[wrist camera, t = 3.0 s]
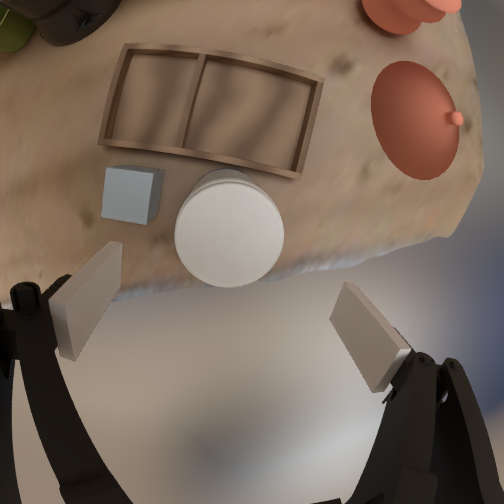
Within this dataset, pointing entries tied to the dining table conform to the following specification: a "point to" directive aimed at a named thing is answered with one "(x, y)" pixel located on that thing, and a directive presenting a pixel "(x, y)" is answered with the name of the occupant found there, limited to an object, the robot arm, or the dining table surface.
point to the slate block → (132, 193)
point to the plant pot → (14, 30)
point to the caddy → (212, 107)
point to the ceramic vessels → (413, 96)
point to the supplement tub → (228, 230)
